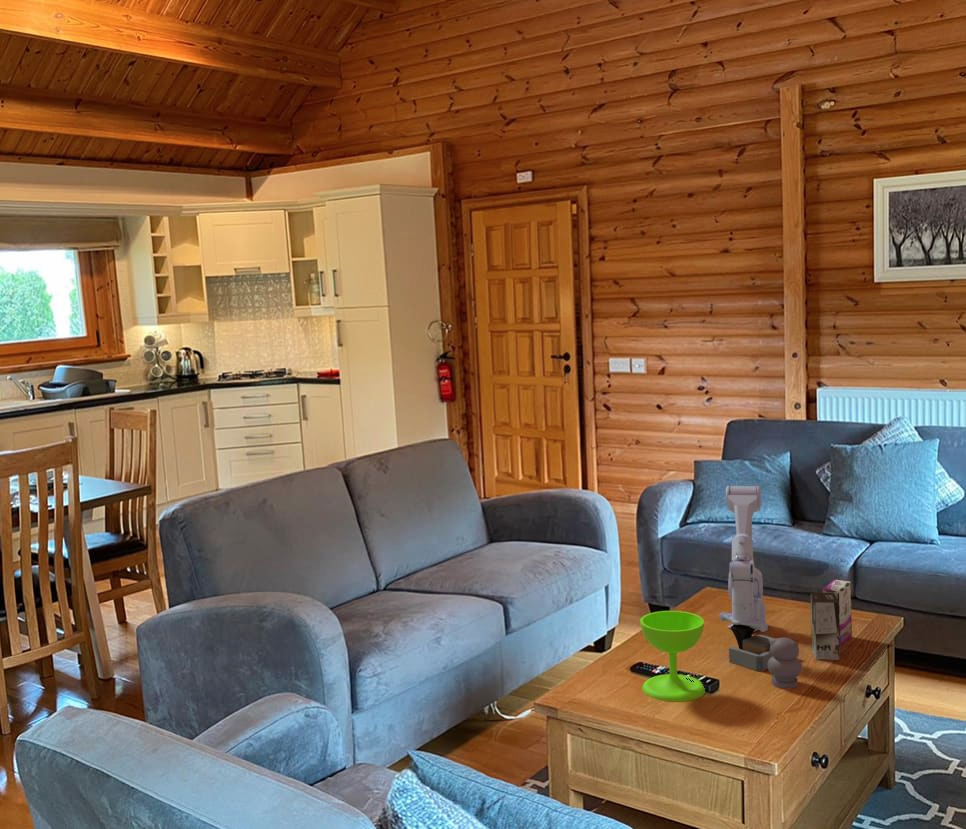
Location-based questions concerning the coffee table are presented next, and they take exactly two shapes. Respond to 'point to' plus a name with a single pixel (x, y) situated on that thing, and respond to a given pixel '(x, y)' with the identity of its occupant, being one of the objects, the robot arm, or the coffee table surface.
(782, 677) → the grey stacked figurine
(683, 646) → the wineglass
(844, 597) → the candy bar box
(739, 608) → the robot arm
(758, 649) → the brown block
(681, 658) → the coffee table surface
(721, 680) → the coffee table surface
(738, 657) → the bay
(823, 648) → the coffee box
